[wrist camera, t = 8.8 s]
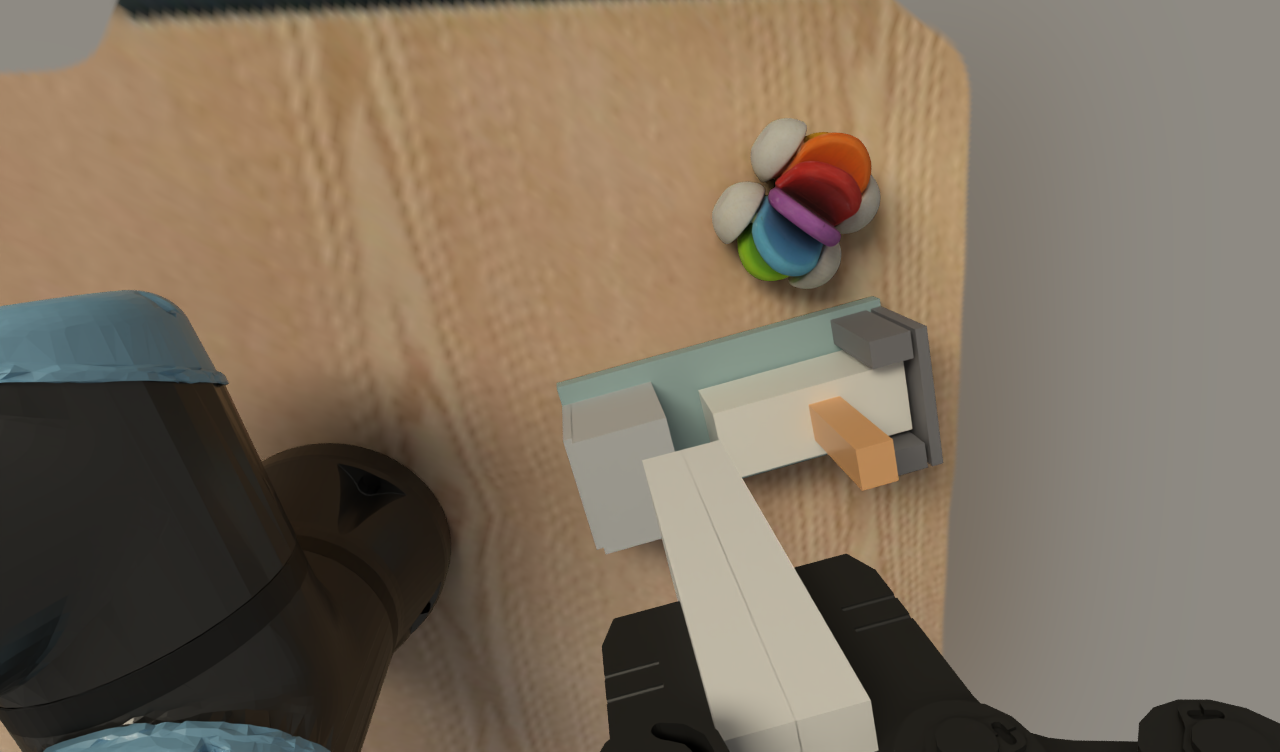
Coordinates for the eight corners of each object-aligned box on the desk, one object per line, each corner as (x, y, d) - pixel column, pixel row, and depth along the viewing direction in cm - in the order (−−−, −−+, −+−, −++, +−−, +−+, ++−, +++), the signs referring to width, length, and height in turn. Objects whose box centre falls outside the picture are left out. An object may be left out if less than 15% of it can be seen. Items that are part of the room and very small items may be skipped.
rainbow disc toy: (880, 176, 44) (940, 178, 38) (793, 303, 46) (834, 327, 39) (776, 98, 42) (819, 85, 35) (689, 234, 44) (714, 247, 37)
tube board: (596, 512, 49) (603, 574, 42) (556, 383, 46) (556, 425, 38) (892, 429, 50) (951, 475, 42) (872, 296, 47) (932, 321, 39)
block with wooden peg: (712, 451, 47) (759, 539, 36) (697, 390, 46) (742, 461, 35) (879, 404, 48) (976, 477, 37) (870, 342, 46) (968, 398, 35)
